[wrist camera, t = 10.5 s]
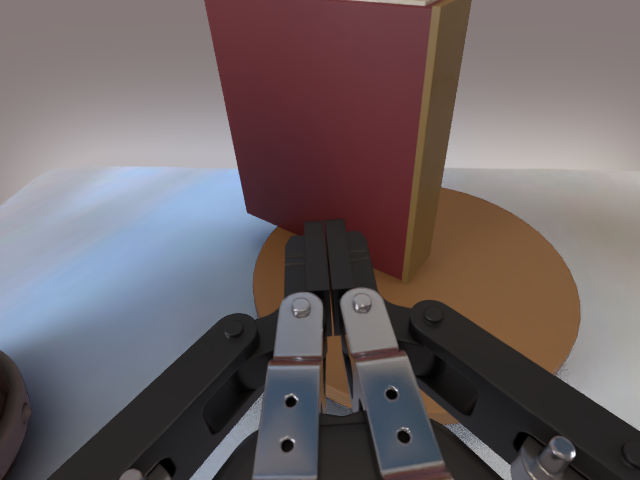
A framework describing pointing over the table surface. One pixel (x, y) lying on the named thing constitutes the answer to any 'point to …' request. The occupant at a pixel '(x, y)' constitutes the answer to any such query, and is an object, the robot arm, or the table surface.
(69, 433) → the table surface
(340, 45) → the book
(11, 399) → the flowerpot
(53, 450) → the table surface
